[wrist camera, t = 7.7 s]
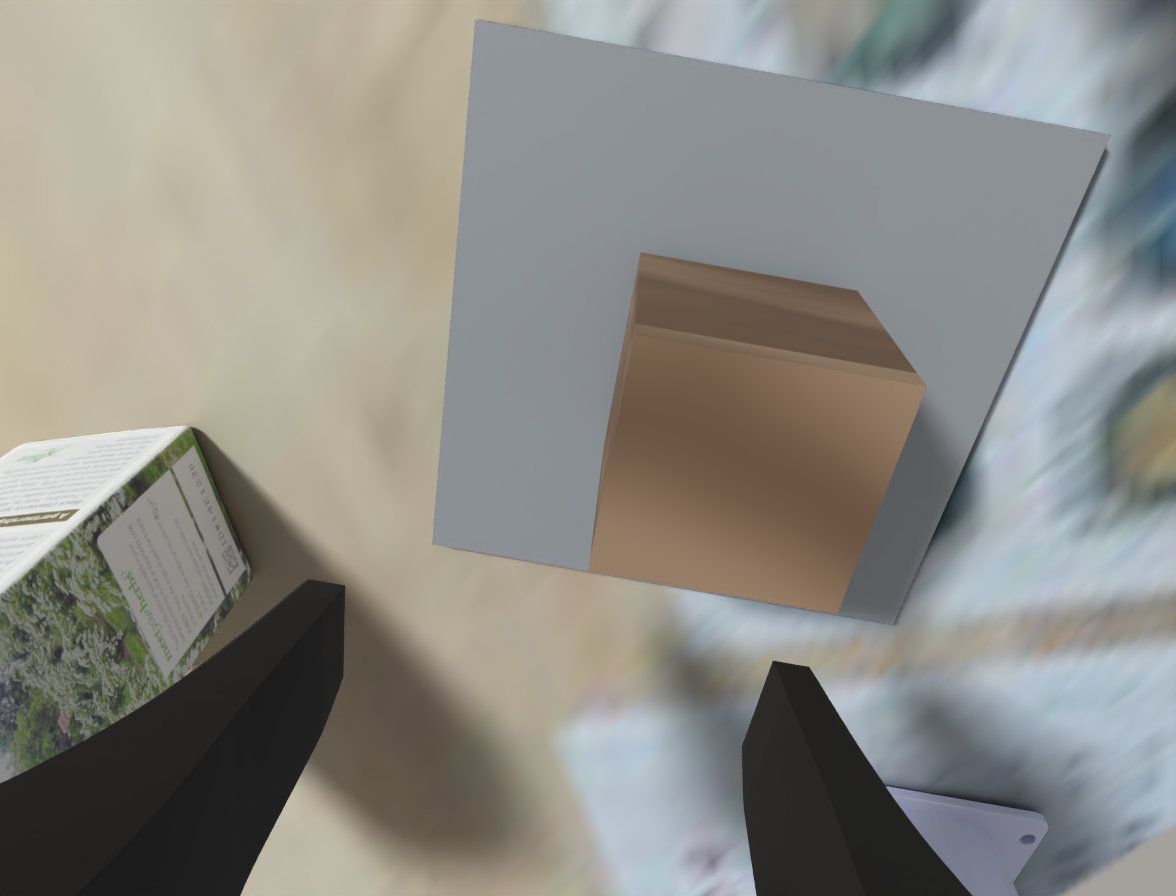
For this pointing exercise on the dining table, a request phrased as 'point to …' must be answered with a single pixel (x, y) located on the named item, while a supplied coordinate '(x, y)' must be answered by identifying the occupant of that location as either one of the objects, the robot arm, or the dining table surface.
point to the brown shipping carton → (748, 434)
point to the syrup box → (105, 581)
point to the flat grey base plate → (723, 265)
